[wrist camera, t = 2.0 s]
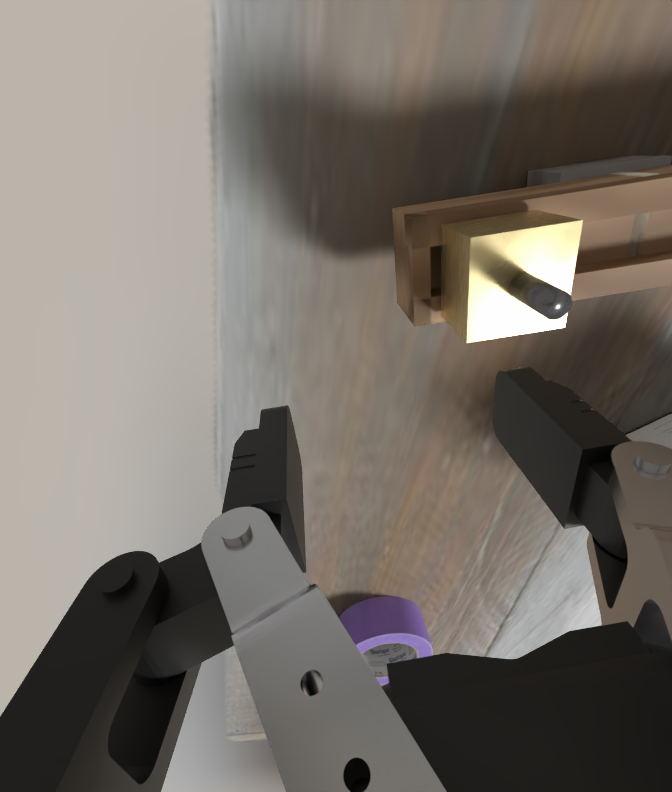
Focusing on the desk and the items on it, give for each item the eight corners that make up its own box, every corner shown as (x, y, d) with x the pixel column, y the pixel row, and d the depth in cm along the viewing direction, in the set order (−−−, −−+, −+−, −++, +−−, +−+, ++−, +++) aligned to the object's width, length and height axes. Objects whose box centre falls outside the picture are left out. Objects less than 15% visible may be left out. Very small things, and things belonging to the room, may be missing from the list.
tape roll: (424, 589, 52) (436, 628, 48) (420, 640, 58) (430, 679, 54) (332, 601, 51) (336, 642, 47) (337, 651, 57) (341, 691, 53)
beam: (379, 194, 28) (410, 207, 21) (771, 133, 29) (936, 125, 21) (385, 293, 32) (414, 334, 24) (734, 237, 32) (864, 261, 25)
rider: (432, 220, 22) (501, 251, 15) (521, 206, 23) (632, 230, 15) (433, 307, 25) (492, 370, 18) (513, 295, 25) (605, 351, 18)
